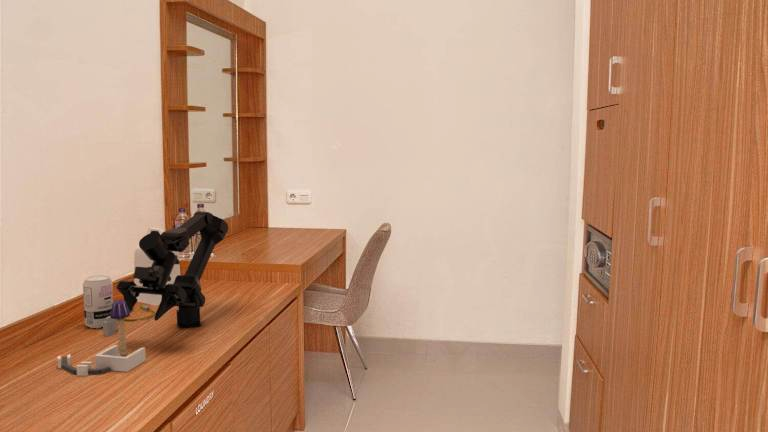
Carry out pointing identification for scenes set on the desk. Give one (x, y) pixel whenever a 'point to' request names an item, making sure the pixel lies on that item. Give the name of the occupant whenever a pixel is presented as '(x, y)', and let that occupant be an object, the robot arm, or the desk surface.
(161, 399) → the desk surface
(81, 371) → the clip
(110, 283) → the supplement can
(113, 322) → the lighter
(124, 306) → the toy lamp
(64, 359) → the cable run
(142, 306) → the extension cord
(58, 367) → the clip
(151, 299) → the milk
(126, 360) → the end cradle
